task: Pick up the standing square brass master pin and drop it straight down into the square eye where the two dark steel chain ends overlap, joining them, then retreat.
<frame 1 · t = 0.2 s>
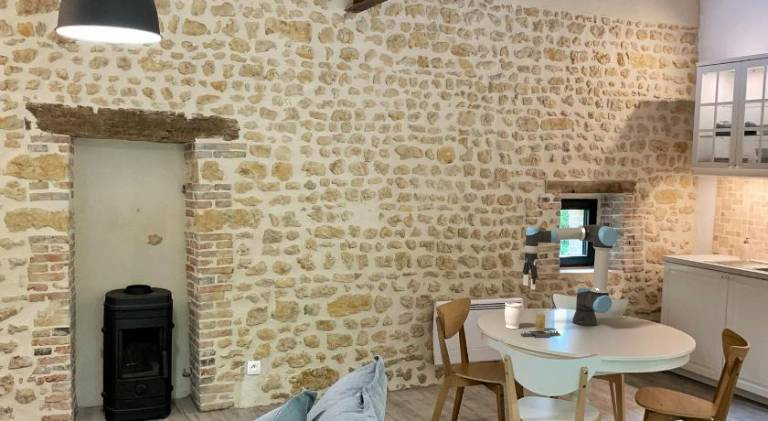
hand: (529, 287, 406), 27 cm above the table, fingers open, 13 cm apart
jar: (512, 327, 414), on the table
chain ends: (539, 335, 396), on the table
master pin: (539, 330, 410), on the table
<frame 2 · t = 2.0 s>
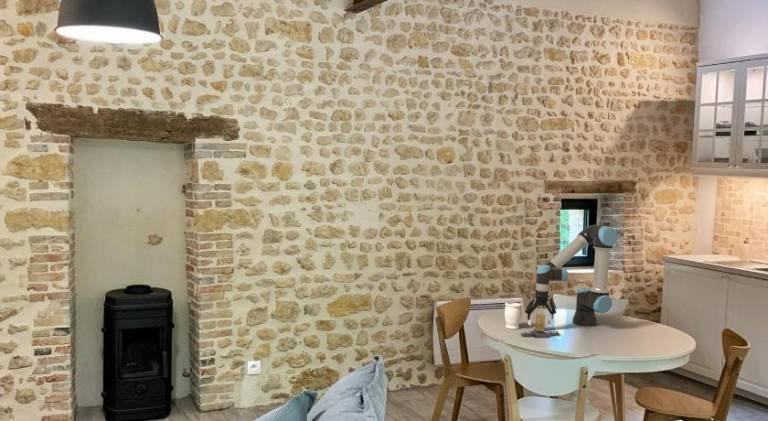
hand: (539, 324, 409), 4 cm above the table, fingers open, 13 cm apart
nothing on the table moved.
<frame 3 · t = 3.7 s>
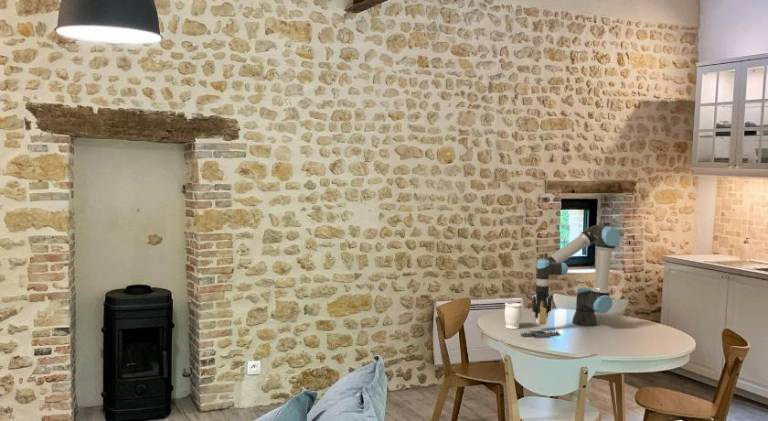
hand: (541, 323, 409), 5 cm above the table, fingers closed on master pin, 4 cm apart
master pin: (541, 323, 410), point 4 cm above the table, touching gripper
everything else where it was.
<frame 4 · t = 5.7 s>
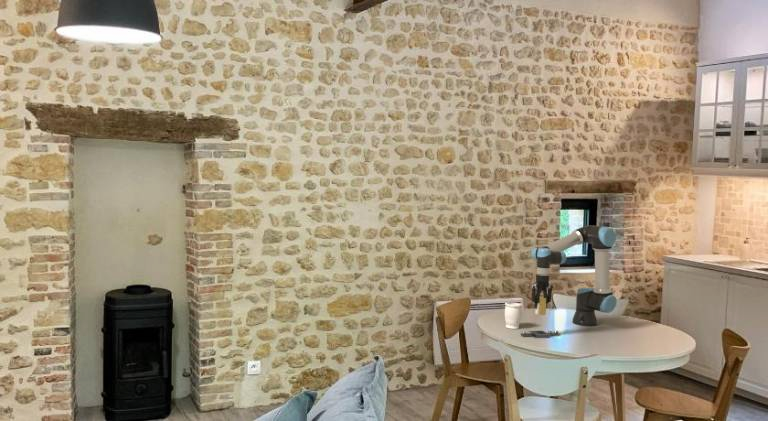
hand: (540, 313, 395), 13 cm above the table, fingers closed on master pin, 4 cm apart
master pin: (540, 314, 395), point 13 cm above the table, touching gripper
everything else where it was.
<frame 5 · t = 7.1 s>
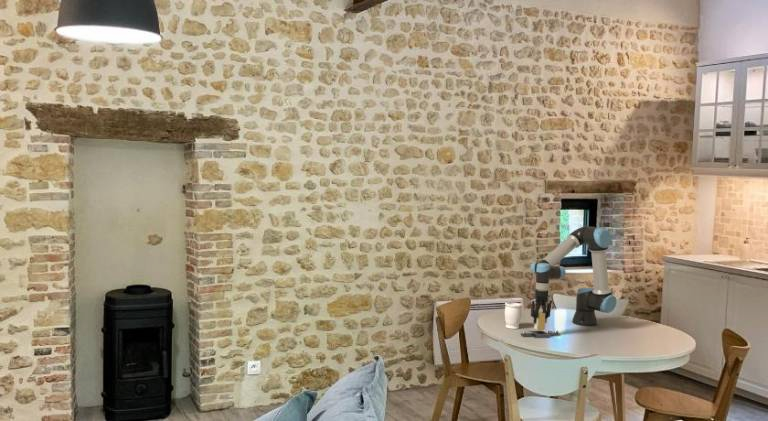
hand: (539, 328, 396), 4 cm above the table, fingers closed on master pin, 4 cm apart
master pin: (539, 329, 396), point 4 cm above the table, touching gripper
everything else where it was.
when the fingers open (4 cm above the table, at t = 7.9 s): master pin drops 3 cm, resting in chain ends.
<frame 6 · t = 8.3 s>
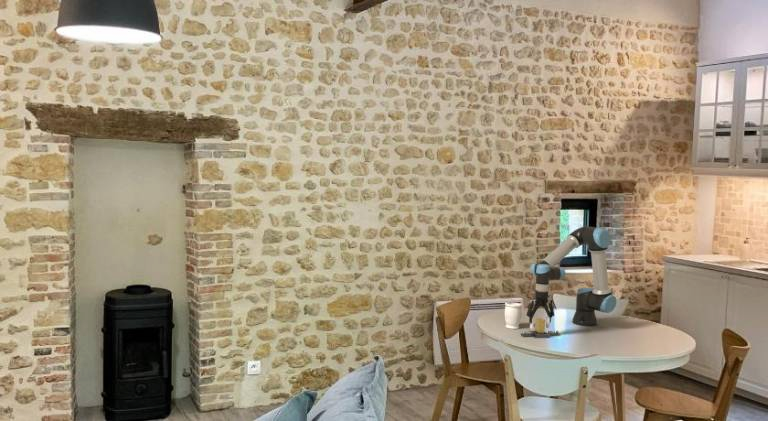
hand: (539, 328, 396), 5 cm above the table, fingers open, 10 cm apart
master pin: (539, 335, 396), resting in chain ends
everything else where it was.
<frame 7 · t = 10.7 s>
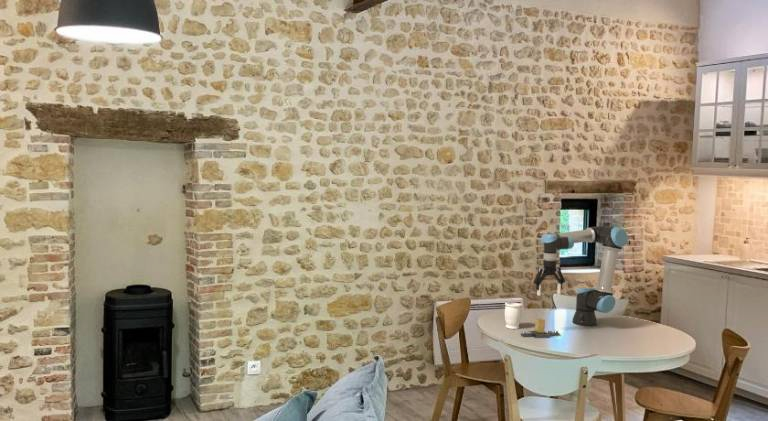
hand: (548, 294, 403), 23 cm above the table, fingers open, 13 cm apart
nothing on the table moved.
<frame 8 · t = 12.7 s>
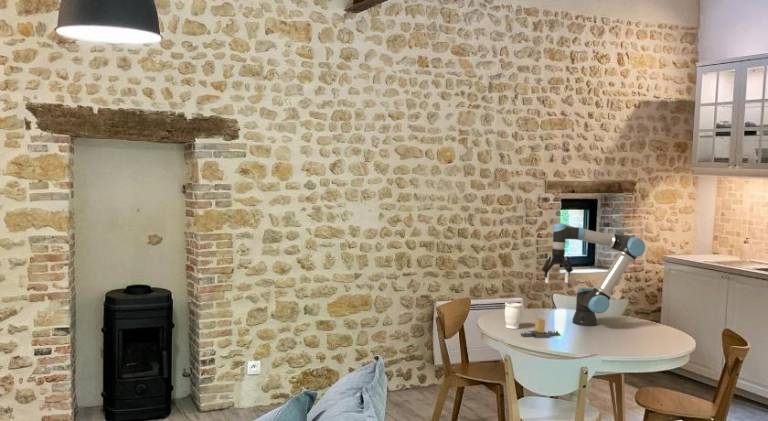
hand: (556, 282, 415), 29 cm above the table, fingers open, 13 cm apart
nothing on the table moved.
at the end: master pin 0.1 cm off-centre on the chain ends, point 0.0 cm above the chain ends's base; master pin tilted 0°; the gripper is holding nothing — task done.
